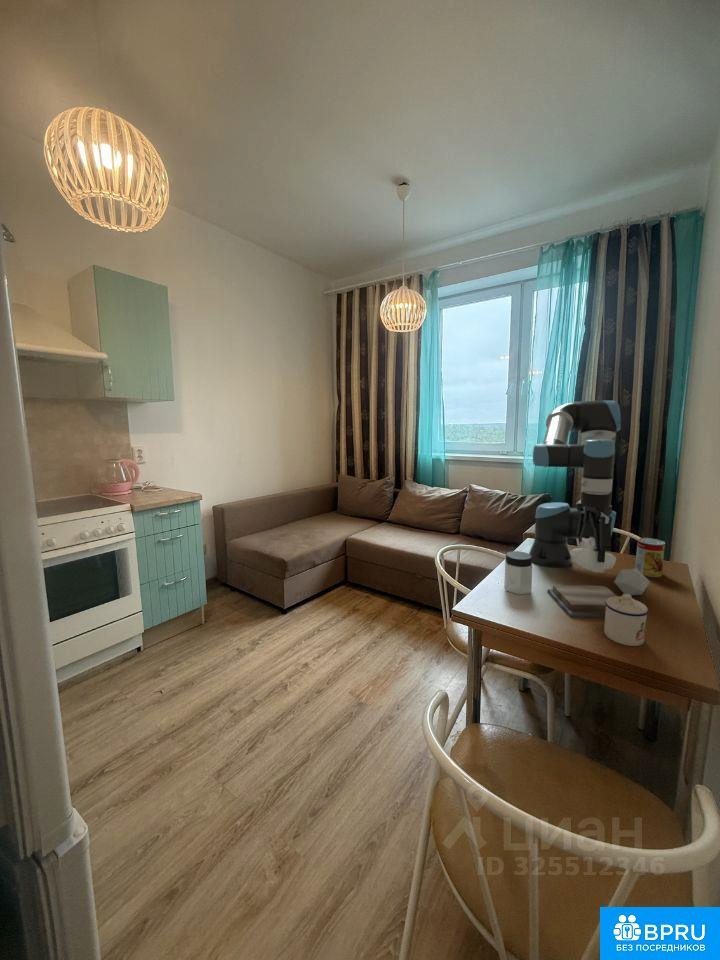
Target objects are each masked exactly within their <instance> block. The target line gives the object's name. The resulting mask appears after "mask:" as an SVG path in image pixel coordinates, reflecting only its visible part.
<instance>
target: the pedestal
mask: <svg viewBox="0 0 720 960" xmlns="http://www.w3.org/2000/svg"><path fill="white" fill-rule="evenodd" d="M547 593H548V595H550V596H551V598H552V599H553V600H554V601H555V602H556V603H557V605H558V606H560V608H561V609H562V610H563V611H564V612H565V614H566V615H568V617H570V618H571V617H572V618H573V617H575V618H605V613H606V604H605V602H606V600H607V599H608V598H610V597H619V596H618V594H615V593H614V591H612V590H611V589H609V588H608V587H606V586H605V585H554V584H553V586H552V588H551V589H549V588H547Z"/></svg>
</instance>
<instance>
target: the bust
mask: <svg viewBox="0 0 720 960" xmlns="http://www.w3.org/2000/svg"><path fill="white" fill-rule="evenodd" d="M582 541H583V542H584V543H585V546H584V547H587V548H586V549H582V548H580V547H576V548H573V549H571V550H569V552H570V555H571V560H573V561H572V562H573V563H574V564H576V565H578V566H580V567H581V568H583V569H584V570H586V571H587V570H588V571H590V572H591V571H592V572H593V560H594V549H596V544H595V538H593V537H590V539H589V538H588V539H587V538H582ZM616 561H617V557H616V556H615V555H613V553H612V554H611V552H607V551H606V552H605V563H604V570H612V568H614V566H615V564H616V563H617V562H616Z"/></svg>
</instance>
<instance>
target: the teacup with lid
mask: <svg viewBox="0 0 720 960" xmlns="http://www.w3.org/2000/svg"><path fill="white" fill-rule="evenodd" d="M632 596H633V595H629V594H624V593H623V594H622V595H621V596H618V597H610V598H608V599H607V600H606V602H605V604H606V613H605V617H604V626H603V627H604V628H603V629H604V630H603V632H604V635H605V636H606V637H607V638H608V639H609V640H611V641H613V642H615V643H617V644H621V645H622V646H623V645H624V646H629V647H630V646H631V647H637V646H641V645H643V644H644V643H645V635H646V624H647V615H648V614H649V609H648V607H647V606H646V605H645V604H644V603H642V602H641V601H639V600H636V599H634V598H633V597H632Z"/></svg>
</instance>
